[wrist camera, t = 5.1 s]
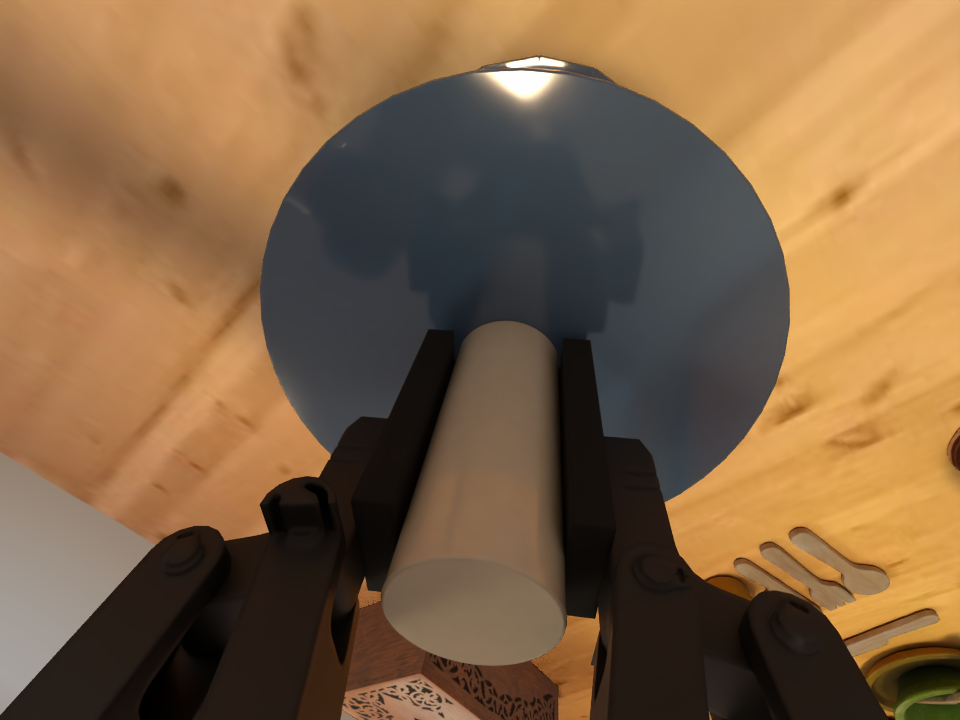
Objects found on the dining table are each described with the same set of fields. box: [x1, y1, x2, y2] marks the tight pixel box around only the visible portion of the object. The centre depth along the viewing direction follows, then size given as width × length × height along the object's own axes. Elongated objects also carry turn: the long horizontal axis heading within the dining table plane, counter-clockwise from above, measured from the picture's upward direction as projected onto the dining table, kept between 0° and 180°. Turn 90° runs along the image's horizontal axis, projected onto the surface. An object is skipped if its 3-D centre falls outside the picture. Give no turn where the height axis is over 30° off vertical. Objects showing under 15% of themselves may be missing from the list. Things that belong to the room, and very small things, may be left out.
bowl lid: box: [260, 67, 790, 666], centre depth 12 cm, size 16×16×9 cm
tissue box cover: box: [342, 602, 558, 720], centre depth 59 cm, size 26×14×10 cm, turn 36°
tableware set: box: [706, 528, 960, 720], centre depth 52 cm, size 41×28×6 cm
